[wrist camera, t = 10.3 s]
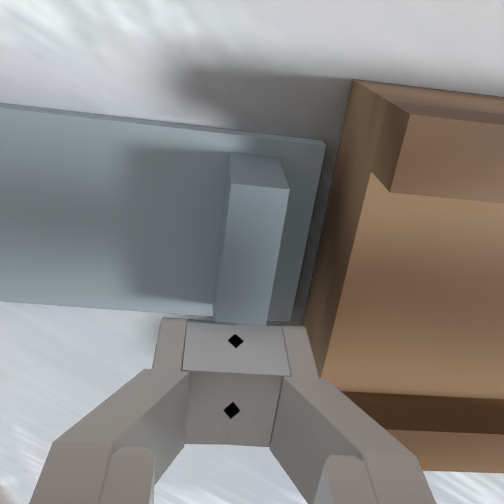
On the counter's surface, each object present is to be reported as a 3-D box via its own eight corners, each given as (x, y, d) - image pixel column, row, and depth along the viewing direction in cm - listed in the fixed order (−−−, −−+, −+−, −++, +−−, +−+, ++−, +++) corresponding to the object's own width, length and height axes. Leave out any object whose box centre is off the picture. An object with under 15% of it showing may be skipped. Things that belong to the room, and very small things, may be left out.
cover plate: (286, 305, 17) (301, 375, 14) (-98, 276, 16) (-177, 346, 13) (319, 136, 14) (347, 175, 11) (-145, 82, 13) (-262, 109, 10)
